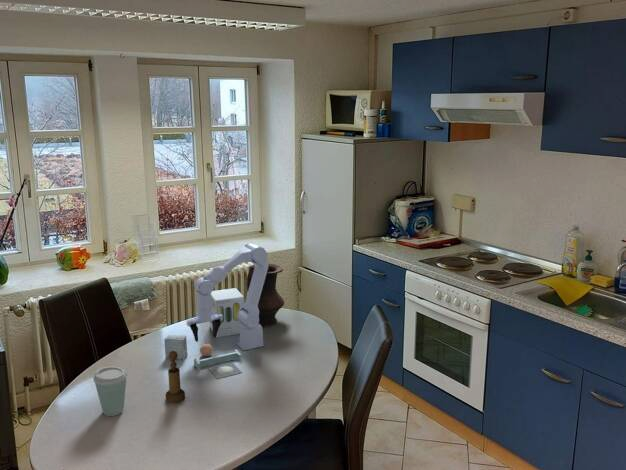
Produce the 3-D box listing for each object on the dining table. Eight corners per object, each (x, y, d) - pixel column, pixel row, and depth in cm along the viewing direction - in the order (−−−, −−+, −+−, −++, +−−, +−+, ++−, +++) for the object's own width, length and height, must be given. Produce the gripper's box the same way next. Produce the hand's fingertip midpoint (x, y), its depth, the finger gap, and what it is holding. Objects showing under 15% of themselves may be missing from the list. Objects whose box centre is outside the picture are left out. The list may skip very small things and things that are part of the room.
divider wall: (236, 355, 238) (236, 349, 238) (241, 360, 234) (241, 354, 234) (194, 364, 230) (193, 359, 229) (198, 369, 226) (197, 364, 225)
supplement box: (216, 337, 255) (214, 300, 251) (209, 327, 267) (207, 291, 263) (245, 333, 260) (244, 296, 256) (237, 322, 272) (236, 287, 268)
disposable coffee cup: (129, 401, 202) (125, 361, 199) (130, 417, 193) (127, 375, 189) (96, 406, 199) (92, 366, 195) (96, 423, 189) (92, 381, 186)
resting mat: (232, 362, 232) (232, 362, 232) (242, 372, 223) (242, 372, 223) (208, 368, 227) (208, 367, 227) (217, 378, 219) (217, 378, 219)
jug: (260, 312, 286) (258, 253, 278) (292, 319, 277) (291, 258, 270) (233, 326, 268) (231, 264, 261) (266, 334, 259) (265, 270, 252)
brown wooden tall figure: (168, 405, 200) (165, 357, 196) (163, 397, 205) (160, 350, 201) (187, 401, 203) (184, 353, 199) (182, 392, 208) (179, 346, 204)
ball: (210, 352, 241) (209, 341, 240) (214, 356, 237) (213, 345, 236) (198, 354, 239) (198, 343, 238) (202, 359, 235) (202, 348, 233)
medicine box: (187, 354, 239) (186, 335, 237) (184, 359, 234) (183, 339, 232) (169, 354, 239) (167, 334, 237) (165, 358, 235) (164, 339, 233)
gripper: (218, 301, 240) (219, 332, 243) (183, 307, 233) (185, 338, 236) (224, 306, 234) (225, 338, 237) (189, 313, 227) (190, 345, 230)
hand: (205, 338), depth 236 cm, fingers open, 7 cm apart
